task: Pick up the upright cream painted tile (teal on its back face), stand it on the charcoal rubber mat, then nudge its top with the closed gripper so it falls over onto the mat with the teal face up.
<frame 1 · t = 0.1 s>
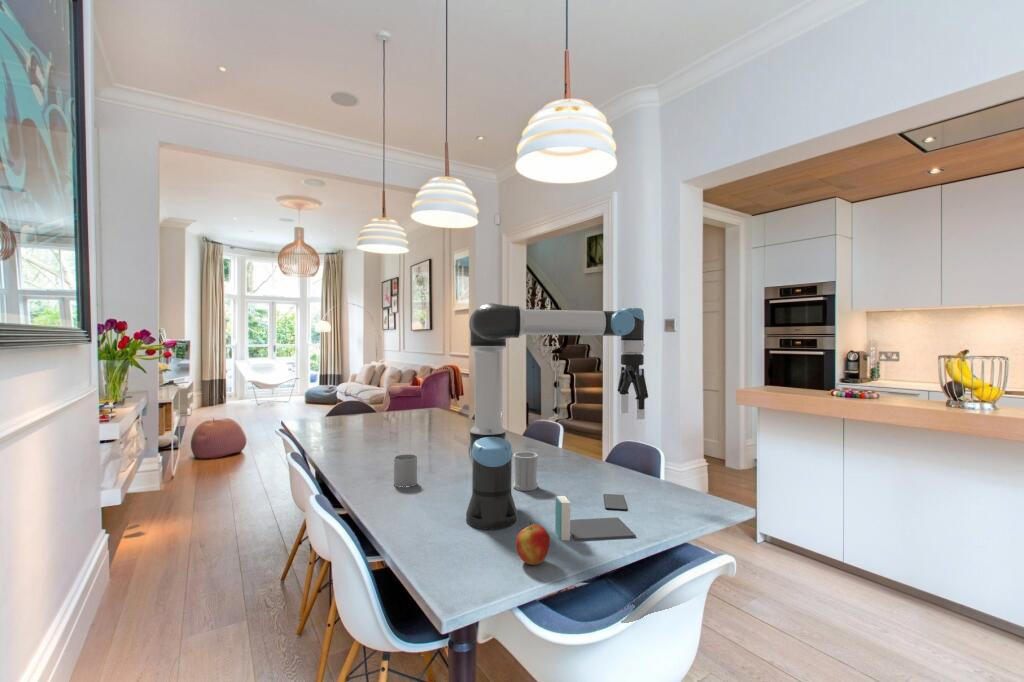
hand: (631, 416, 160), 28 cm above the table, fingers open, 13 cm apart
cup: (405, 484, 174), on the table
smartphone: (614, 504, 155), on the table
mat: (597, 529, 133), on the table
cup 2: (524, 487, 171), on the table
tile: (562, 536, 128), on the table
apple: (532, 563, 113), on the table
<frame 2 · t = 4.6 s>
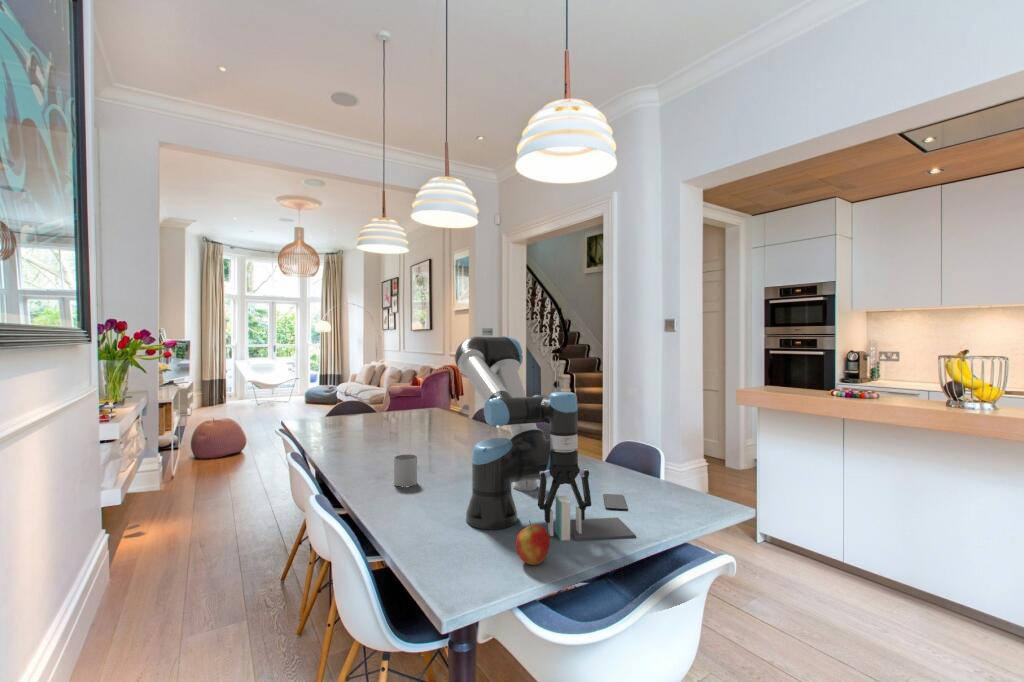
hand: (564, 532, 128), 1 cm above the table, fingers open, 7 cm apart
nothing on the table moved.
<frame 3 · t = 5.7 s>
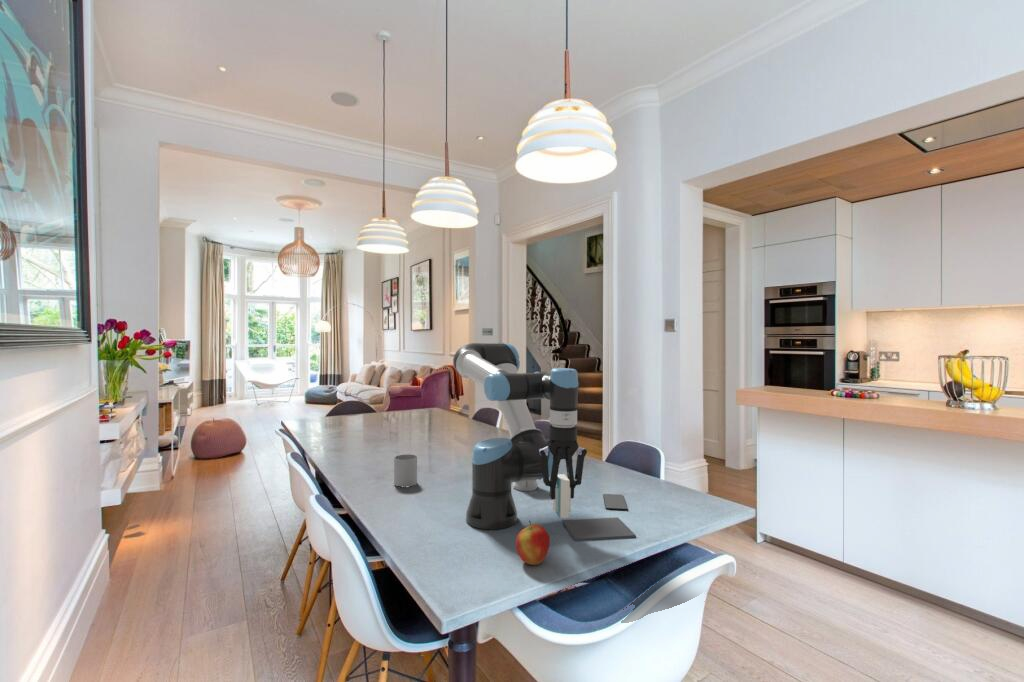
hand: (561, 510, 129), 7 cm above the table, fingers closed on tile, 3 cm apart
tile: (561, 513, 129), point 6 cm above the table, touching gripper
everything else where it was.
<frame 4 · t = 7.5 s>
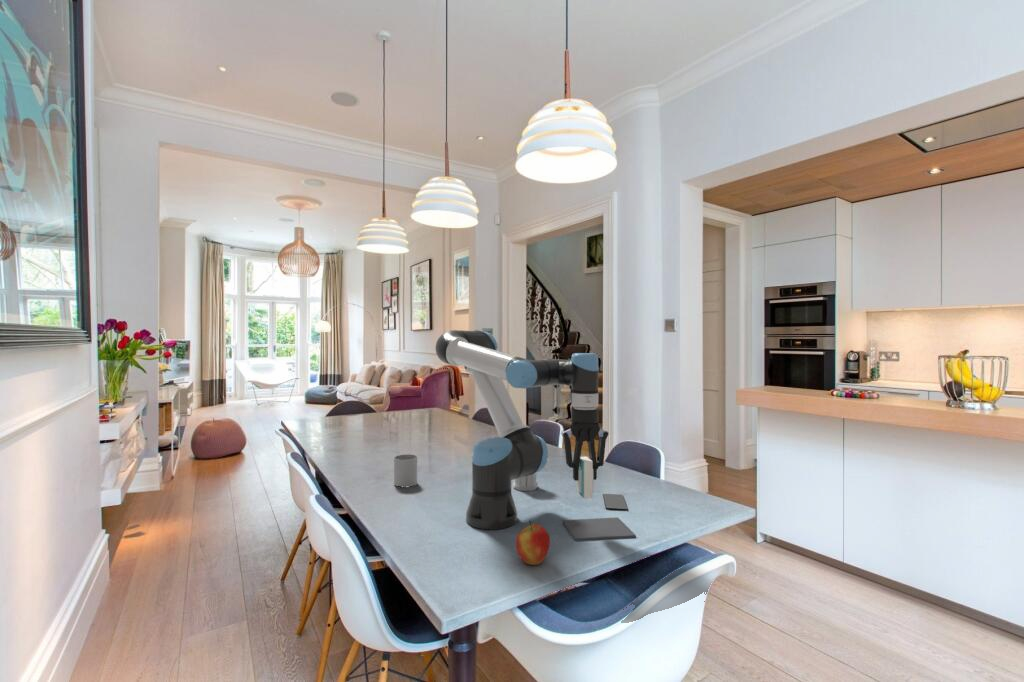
hand: (584, 491, 132), 11 cm above the table, fingers closed on tile, 3 cm apart
tile: (584, 494, 132), point 10 cm above the table, touching gripper
everything else where it was.
when the fingers open (1 cm above the table, at t = 9.7 s): tile stays where it is, resting on mat.
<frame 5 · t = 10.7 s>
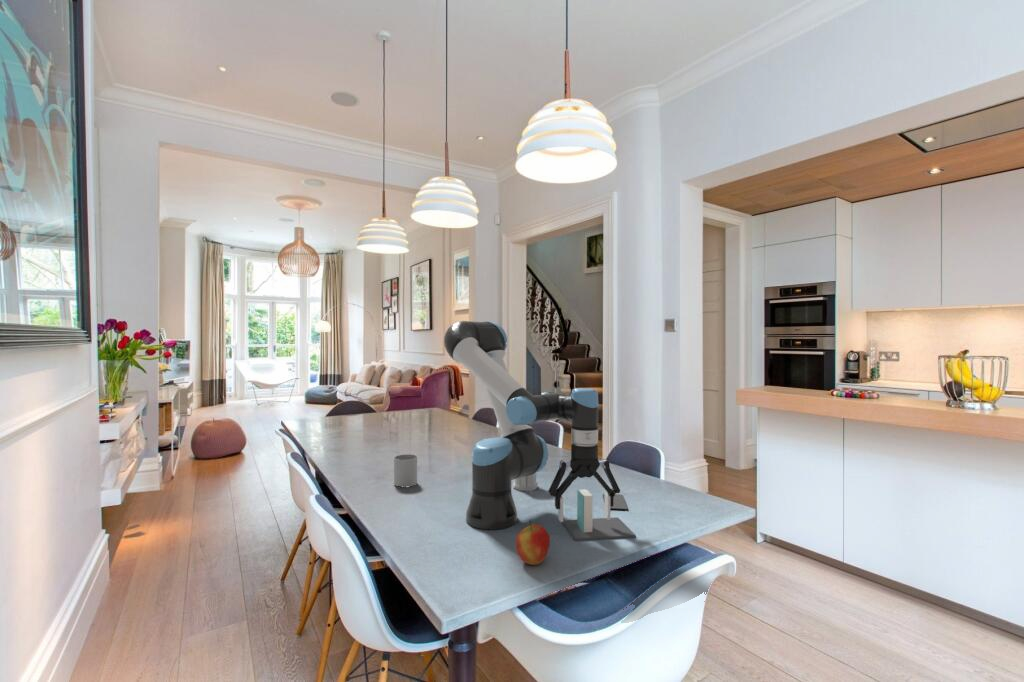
hand: (584, 519, 132), 3 cm above the table, fingers open, 13 cm apart
tile: (584, 528, 132), point 1 cm above the table, touching mat
everything else where it was.
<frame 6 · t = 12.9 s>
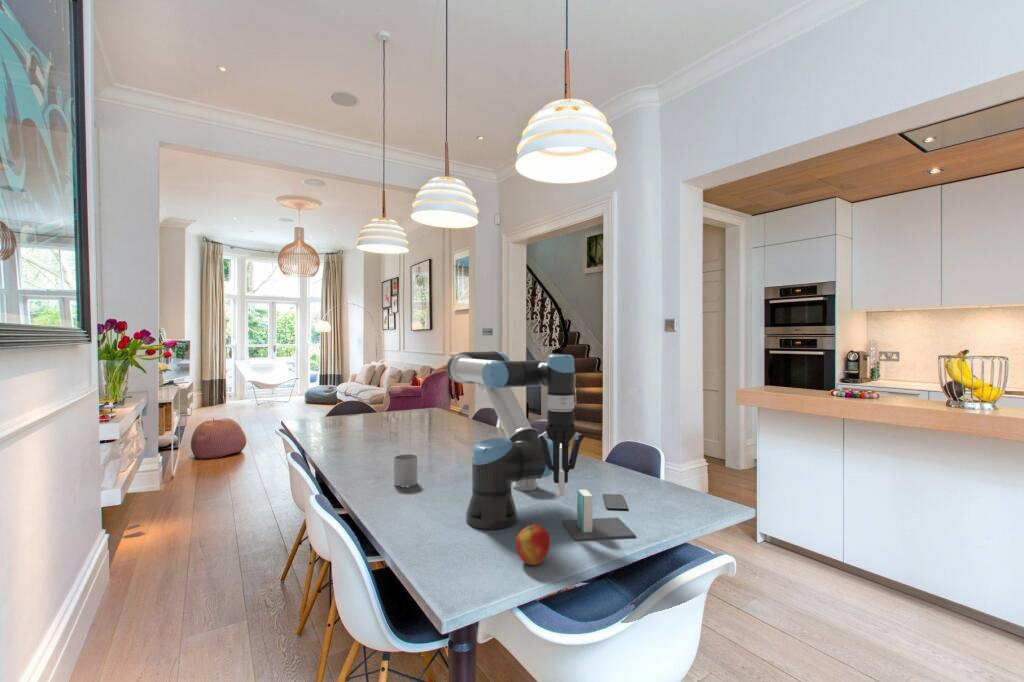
hand: (560, 494, 131), 10 cm above the table, fingers closed
nothing on the table moved.
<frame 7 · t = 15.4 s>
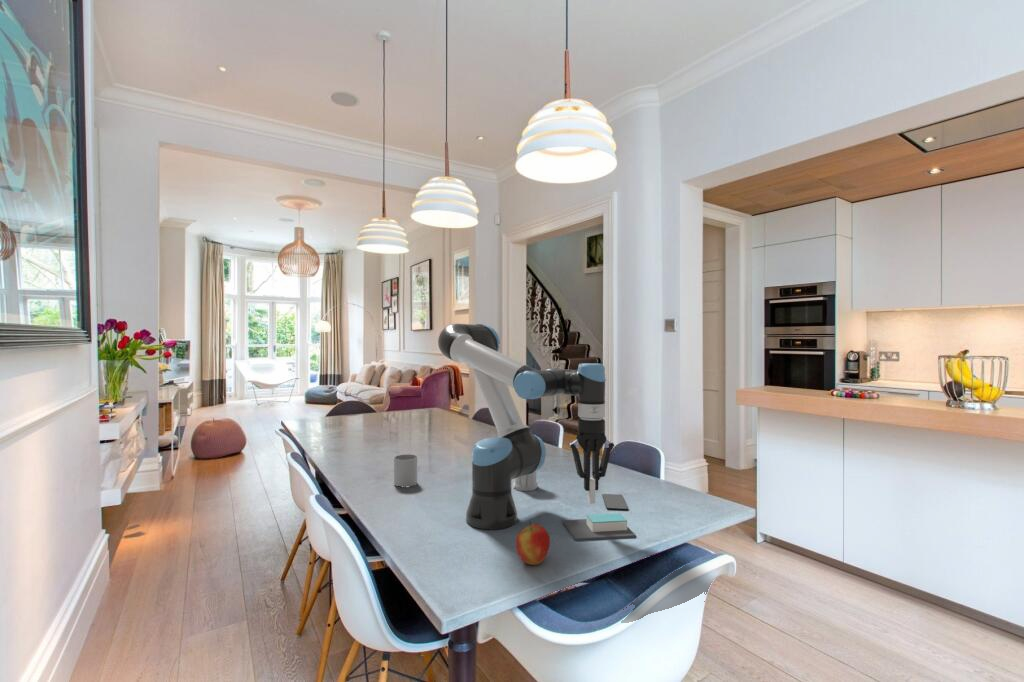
hand: (591, 501, 132), 8 cm above the table, fingers closed
tile: (589, 523, 132), point 2 cm above the table, tilted 90°, touching mat
everything else where it was.
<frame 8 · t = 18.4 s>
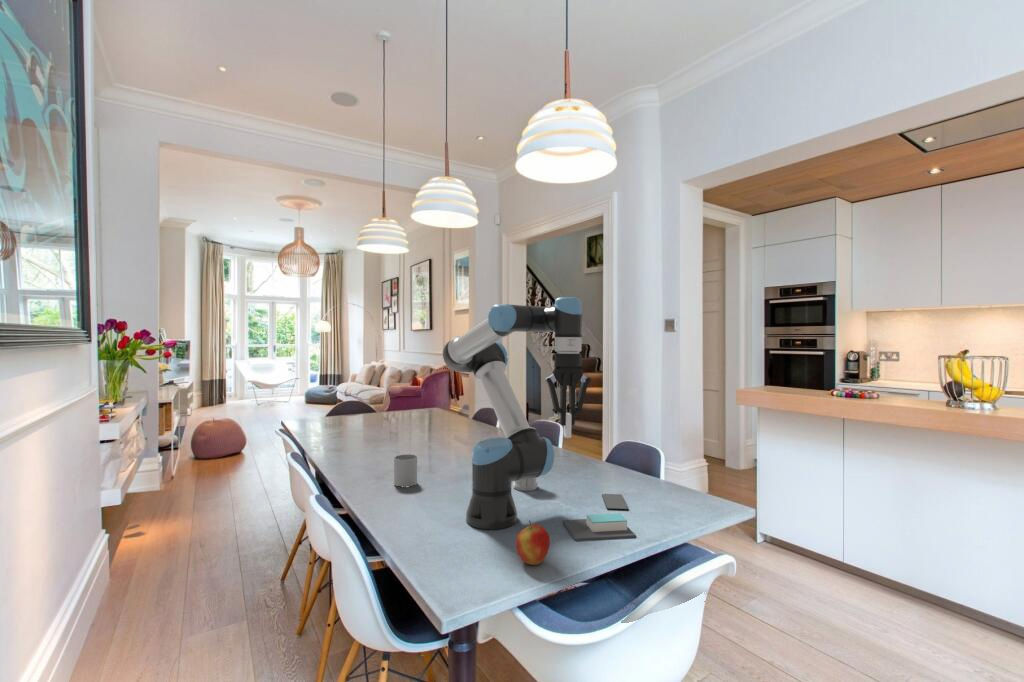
hand: (567, 436, 131), 26 cm above the table, fingers closed
nothing on the table moved.
at the end: tile tilted 90°; tile inside the target area (3.0 cm from its centre), point 1.9 cm above the table; the gripper is holding nothing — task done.
